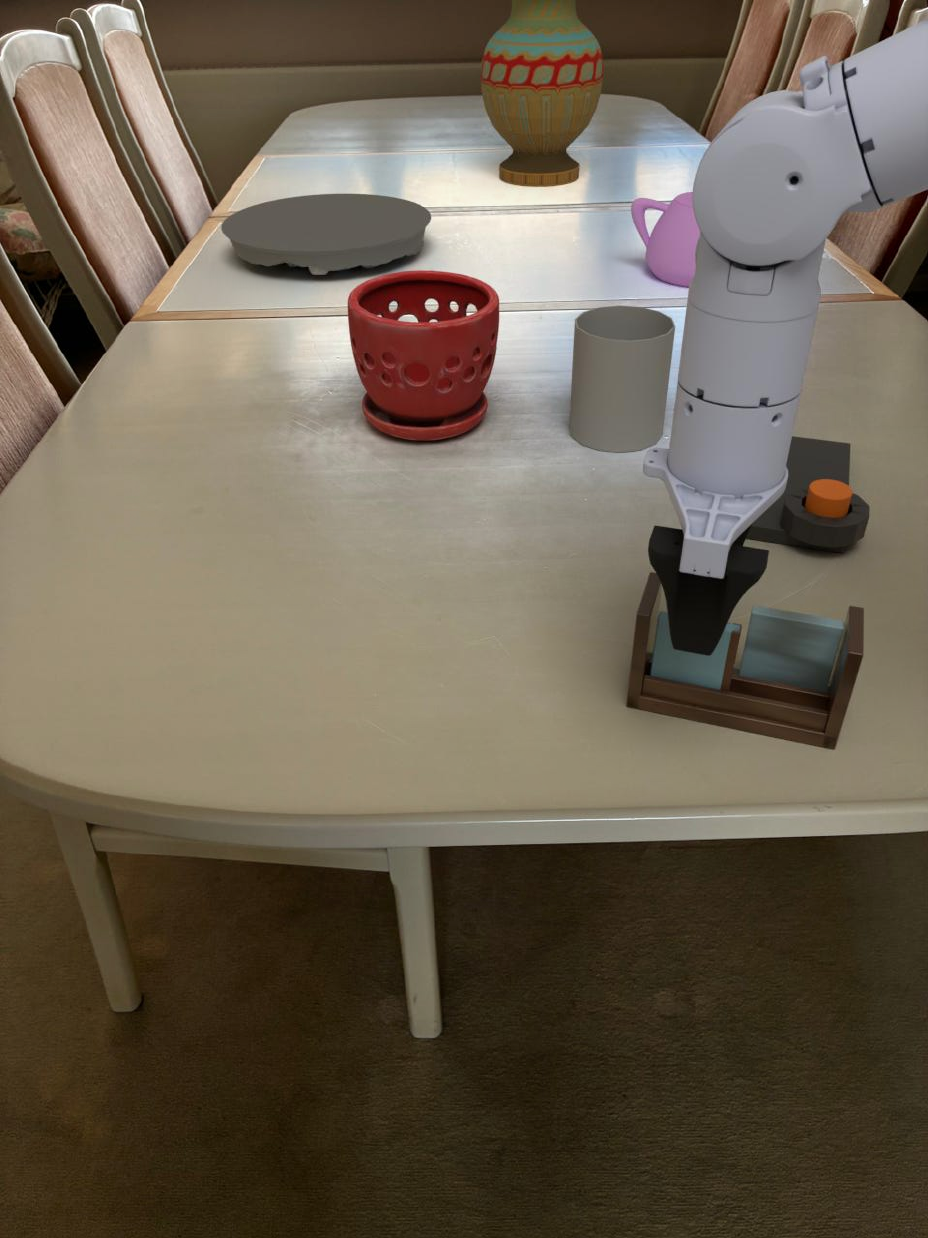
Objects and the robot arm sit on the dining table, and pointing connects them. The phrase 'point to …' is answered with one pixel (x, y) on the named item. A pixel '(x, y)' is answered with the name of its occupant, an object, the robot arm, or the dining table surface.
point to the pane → (695, 658)
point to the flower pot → (424, 352)
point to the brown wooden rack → (761, 675)
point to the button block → (788, 512)
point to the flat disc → (328, 231)
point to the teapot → (669, 238)
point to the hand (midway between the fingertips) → (701, 612)
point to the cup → (620, 377)
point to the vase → (541, 89)
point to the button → (828, 498)
